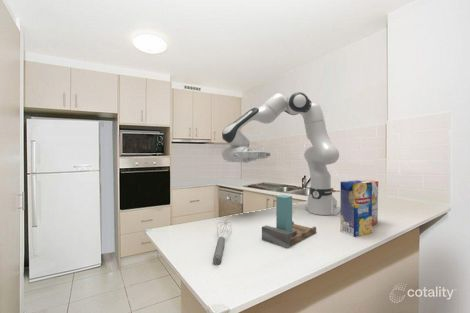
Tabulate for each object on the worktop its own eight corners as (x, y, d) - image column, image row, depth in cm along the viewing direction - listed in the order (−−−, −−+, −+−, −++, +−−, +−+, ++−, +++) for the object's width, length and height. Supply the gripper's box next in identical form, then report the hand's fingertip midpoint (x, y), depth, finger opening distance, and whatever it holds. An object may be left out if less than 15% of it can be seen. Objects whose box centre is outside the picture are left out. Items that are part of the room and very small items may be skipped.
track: (291, 226, 106) (291, 215, 106) (316, 232, 97) (316, 221, 97) (261, 239, 90) (261, 227, 90) (287, 248, 81) (287, 234, 81)
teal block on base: (281, 230, 95) (281, 194, 95) (296, 234, 90) (296, 196, 90) (272, 234, 91) (271, 196, 90) (287, 239, 86) (286, 198, 85)
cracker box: (367, 229, 101) (367, 183, 101) (353, 226, 106) (353, 181, 105) (378, 223, 110) (379, 180, 110) (365, 220, 114) (365, 179, 114)
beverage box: (372, 233, 96) (372, 182, 96) (354, 237, 92) (354, 183, 92) (357, 228, 103) (357, 180, 102) (340, 231, 98) (340, 181, 98)
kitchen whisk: (206, 268, 68) (206, 247, 68) (218, 231, 101) (218, 217, 101) (226, 269, 67) (226, 248, 67) (232, 231, 101) (232, 217, 101)
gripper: (230, 148, 117) (250, 148, 108) (256, 149, 132) (275, 148, 122) (231, 160, 118) (250, 161, 108) (256, 159, 132) (275, 160, 122)
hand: (264, 154), depth 115 cm, fingers open, 8 cm apart
